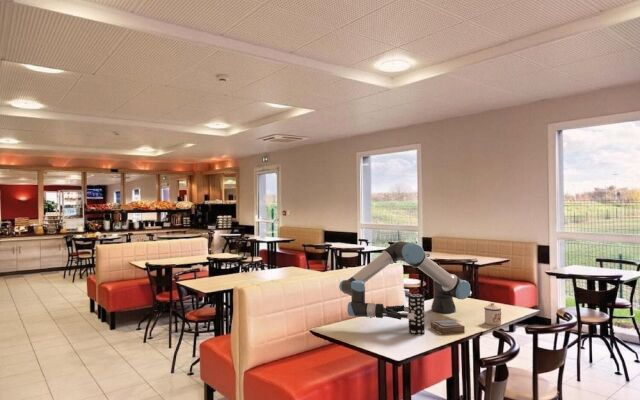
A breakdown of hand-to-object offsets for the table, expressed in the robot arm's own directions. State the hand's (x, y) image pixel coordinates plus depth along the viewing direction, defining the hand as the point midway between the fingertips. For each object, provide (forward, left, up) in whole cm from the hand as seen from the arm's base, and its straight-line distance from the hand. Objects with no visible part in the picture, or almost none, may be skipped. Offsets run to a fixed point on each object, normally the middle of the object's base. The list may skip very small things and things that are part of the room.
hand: (415, 312), depth 227 cm
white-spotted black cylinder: (0, +1, -11) cm, 11 cm away
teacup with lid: (-6, +52, -11) cm, 54 cm away
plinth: (0, +19, -11) cm, 22 cm away
